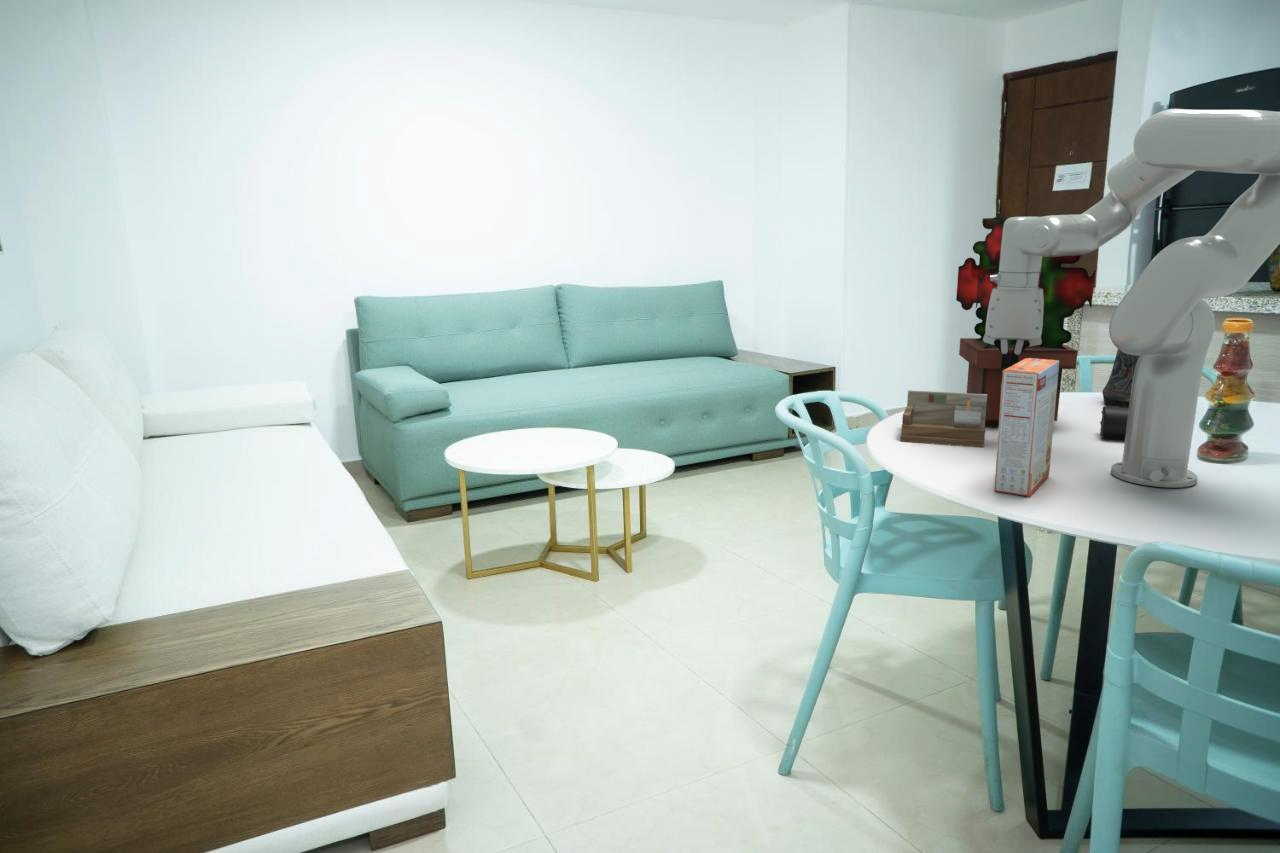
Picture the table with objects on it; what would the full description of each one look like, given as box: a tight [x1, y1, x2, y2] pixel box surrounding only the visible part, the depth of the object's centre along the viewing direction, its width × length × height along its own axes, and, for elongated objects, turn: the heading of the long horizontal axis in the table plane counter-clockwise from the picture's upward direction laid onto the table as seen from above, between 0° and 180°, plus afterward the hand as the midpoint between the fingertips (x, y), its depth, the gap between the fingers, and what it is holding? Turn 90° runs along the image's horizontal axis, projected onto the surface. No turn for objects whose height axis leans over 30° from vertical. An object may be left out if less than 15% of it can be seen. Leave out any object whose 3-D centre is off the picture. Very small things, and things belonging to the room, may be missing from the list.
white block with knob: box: [954, 400, 981, 429], centre depth 164 cm, size 5×5×6 cm
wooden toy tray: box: [900, 389, 987, 448], centre depth 166 cm, size 14×16×8 cm
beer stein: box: [1102, 348, 1139, 408], centre depth 185 cm, size 16×19×25 cm
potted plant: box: [955, 215, 1096, 427], centre depth 173 cm, size 22×22×45 cm
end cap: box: [1099, 405, 1129, 441], centre depth 160 cm, size 10×7×7 cm
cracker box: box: [993, 358, 1059, 497], centre depth 132 cm, size 14×6×21 cm, turn 141°
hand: (1008, 372), depth 159 cm, fingers closed
